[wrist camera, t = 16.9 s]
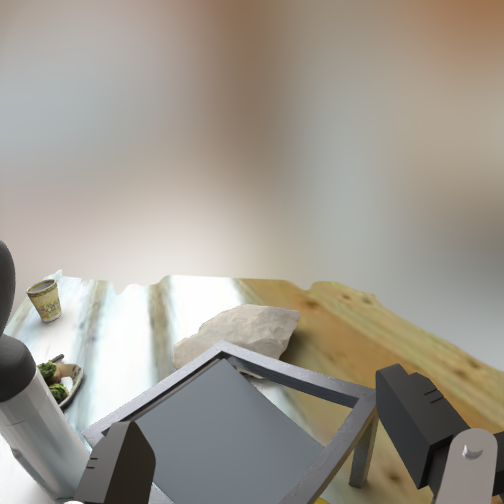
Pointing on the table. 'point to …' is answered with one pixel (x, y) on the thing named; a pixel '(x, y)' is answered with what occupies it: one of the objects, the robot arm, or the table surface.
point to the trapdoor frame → (335, 390)
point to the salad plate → (53, 376)
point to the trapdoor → (224, 442)
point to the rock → (241, 333)
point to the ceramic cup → (45, 299)
